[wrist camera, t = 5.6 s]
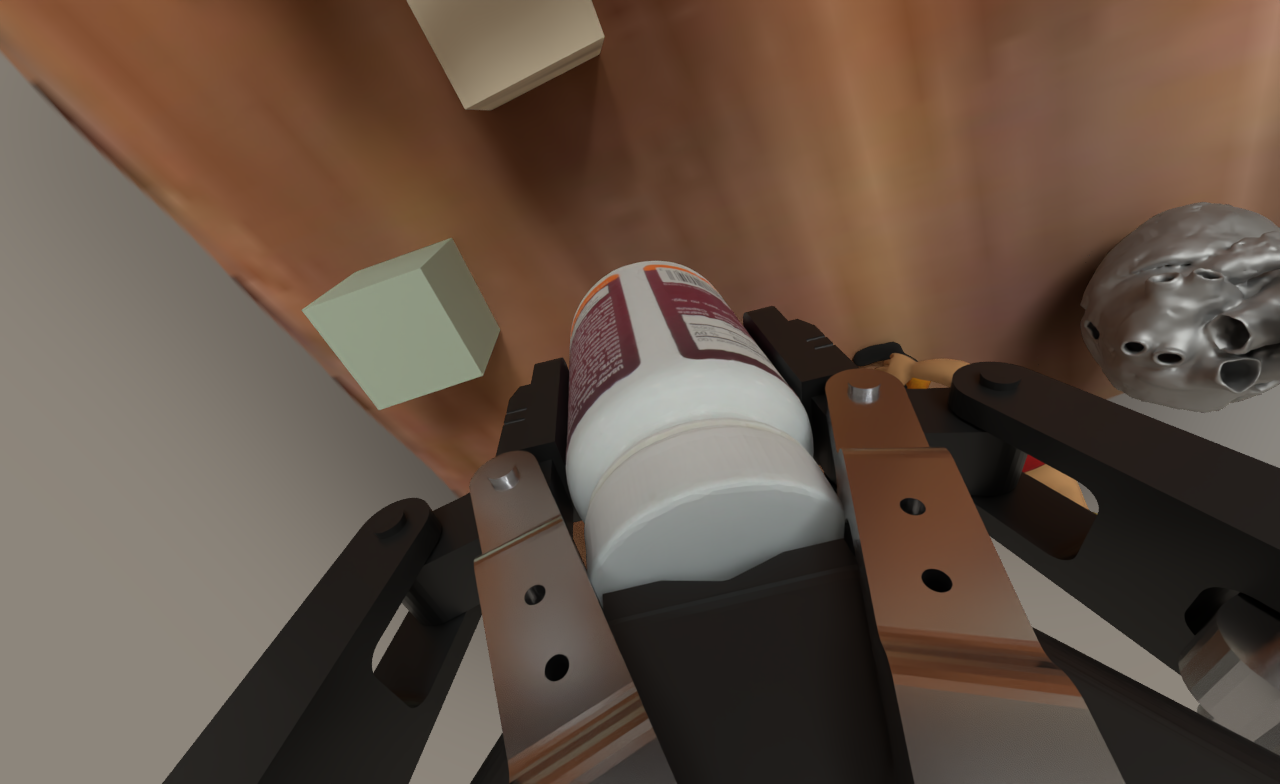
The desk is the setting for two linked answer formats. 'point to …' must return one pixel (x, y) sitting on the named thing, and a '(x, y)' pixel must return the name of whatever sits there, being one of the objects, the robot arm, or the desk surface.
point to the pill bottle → (684, 437)
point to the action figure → (942, 372)
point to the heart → (1189, 308)
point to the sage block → (408, 324)
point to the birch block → (507, 43)
